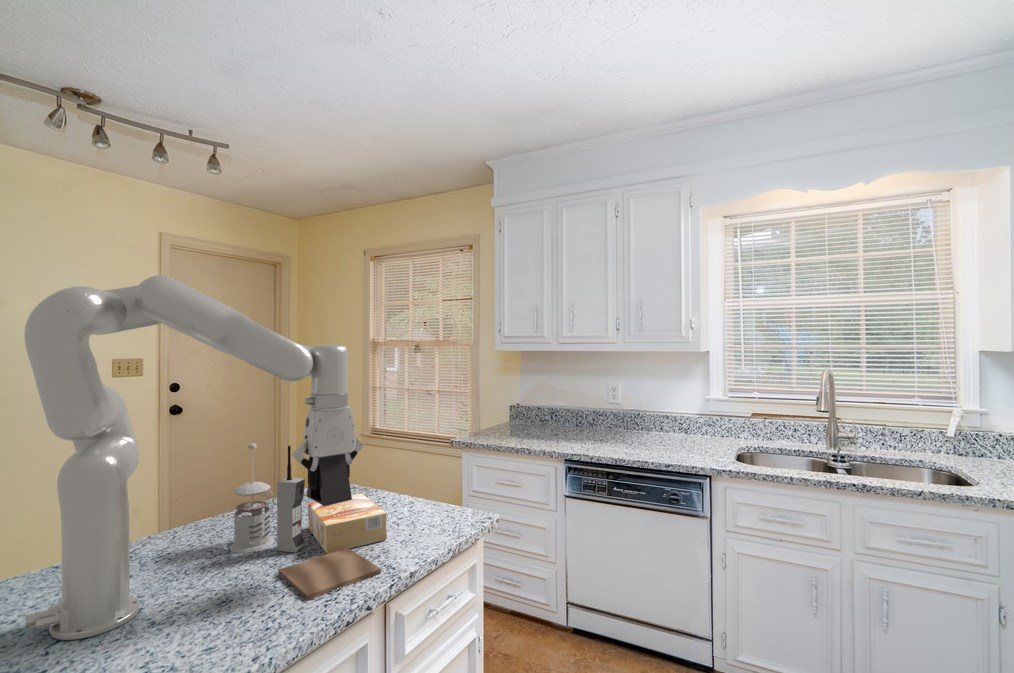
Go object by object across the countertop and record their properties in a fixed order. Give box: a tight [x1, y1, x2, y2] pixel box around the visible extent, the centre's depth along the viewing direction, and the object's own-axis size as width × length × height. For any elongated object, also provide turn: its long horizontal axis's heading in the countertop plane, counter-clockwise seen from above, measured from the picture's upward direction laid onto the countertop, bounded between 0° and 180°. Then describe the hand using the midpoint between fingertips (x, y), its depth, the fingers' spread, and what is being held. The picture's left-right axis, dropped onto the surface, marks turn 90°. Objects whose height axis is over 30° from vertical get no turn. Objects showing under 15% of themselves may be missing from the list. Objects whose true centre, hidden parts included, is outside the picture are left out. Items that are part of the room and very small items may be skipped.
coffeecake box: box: [307, 493, 388, 555], centre depth 130 cm, size 15×7×20 cm
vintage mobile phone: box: [276, 445, 306, 554], centre depth 121 cm, size 4×5×25 cm
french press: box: [229, 442, 275, 554], centre depth 124 cm, size 10×12×25 cm
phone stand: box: [306, 454, 353, 506], centre depth 108 cm, size 9×6×12 cm, turn 45°
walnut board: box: [278, 548, 382, 601], centre depth 108 cm, size 16×15×1 cm
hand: (329, 484), depth 108 cm, fingers closed on phone stand, 6 cm apart
